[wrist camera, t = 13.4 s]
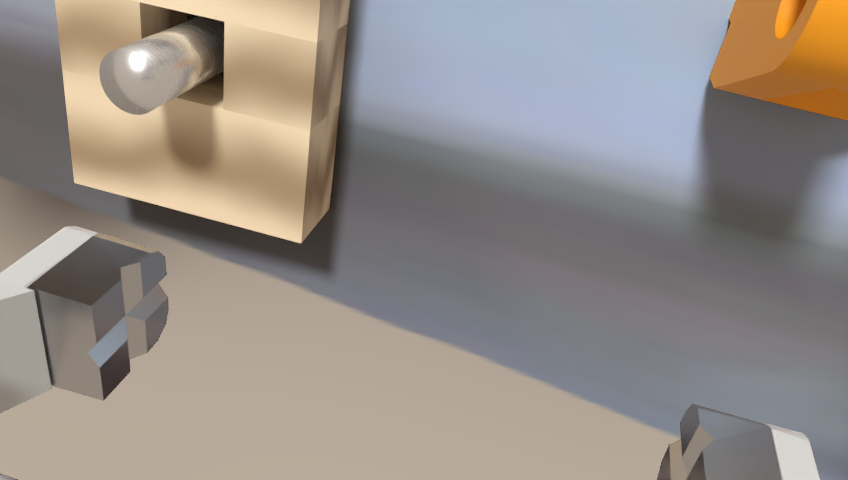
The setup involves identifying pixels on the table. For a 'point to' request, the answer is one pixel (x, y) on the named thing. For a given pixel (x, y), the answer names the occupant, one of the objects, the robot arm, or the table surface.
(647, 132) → the table surface
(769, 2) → the bracket
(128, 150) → the oak hole block
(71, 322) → the robot arm
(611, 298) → the table surface
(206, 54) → the steel pin
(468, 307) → the table surface
